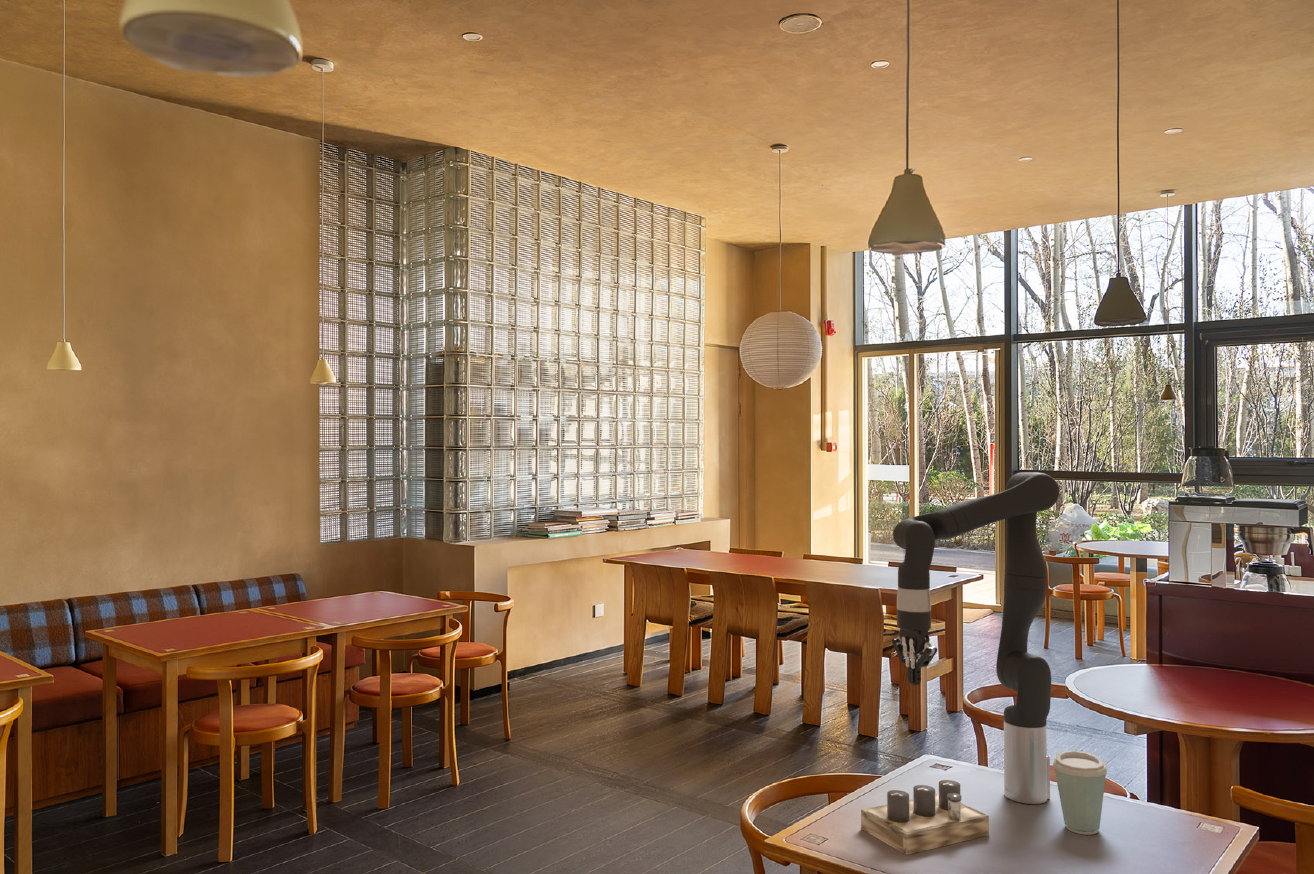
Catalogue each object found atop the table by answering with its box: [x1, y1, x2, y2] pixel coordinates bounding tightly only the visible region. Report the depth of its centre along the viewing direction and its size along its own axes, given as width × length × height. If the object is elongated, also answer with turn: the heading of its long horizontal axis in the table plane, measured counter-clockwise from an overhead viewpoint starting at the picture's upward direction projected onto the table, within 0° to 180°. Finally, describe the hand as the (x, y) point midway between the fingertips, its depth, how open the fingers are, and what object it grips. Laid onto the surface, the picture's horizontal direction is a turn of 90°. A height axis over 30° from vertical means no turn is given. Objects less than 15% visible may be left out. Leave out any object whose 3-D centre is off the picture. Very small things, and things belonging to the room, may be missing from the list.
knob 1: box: [886, 789, 910, 823], centre depth 186 cm, size 4×4×8 cm
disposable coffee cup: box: [1052, 750, 1108, 836], centre depth 191 cm, size 11×11×15 cm
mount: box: [860, 793, 990, 856], centre depth 189 cm, size 22×14×4 cm, turn 116°
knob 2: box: [938, 779, 961, 811], centre depth 192 cm, size 4×4×8 cm
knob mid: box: [912, 784, 936, 817], centre depth 189 cm, size 4×4×8 cm
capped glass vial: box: [947, 793, 962, 821], centre depth 186 cm, size 3×3×5 cm
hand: (914, 684), depth 205 cm, fingers closed
